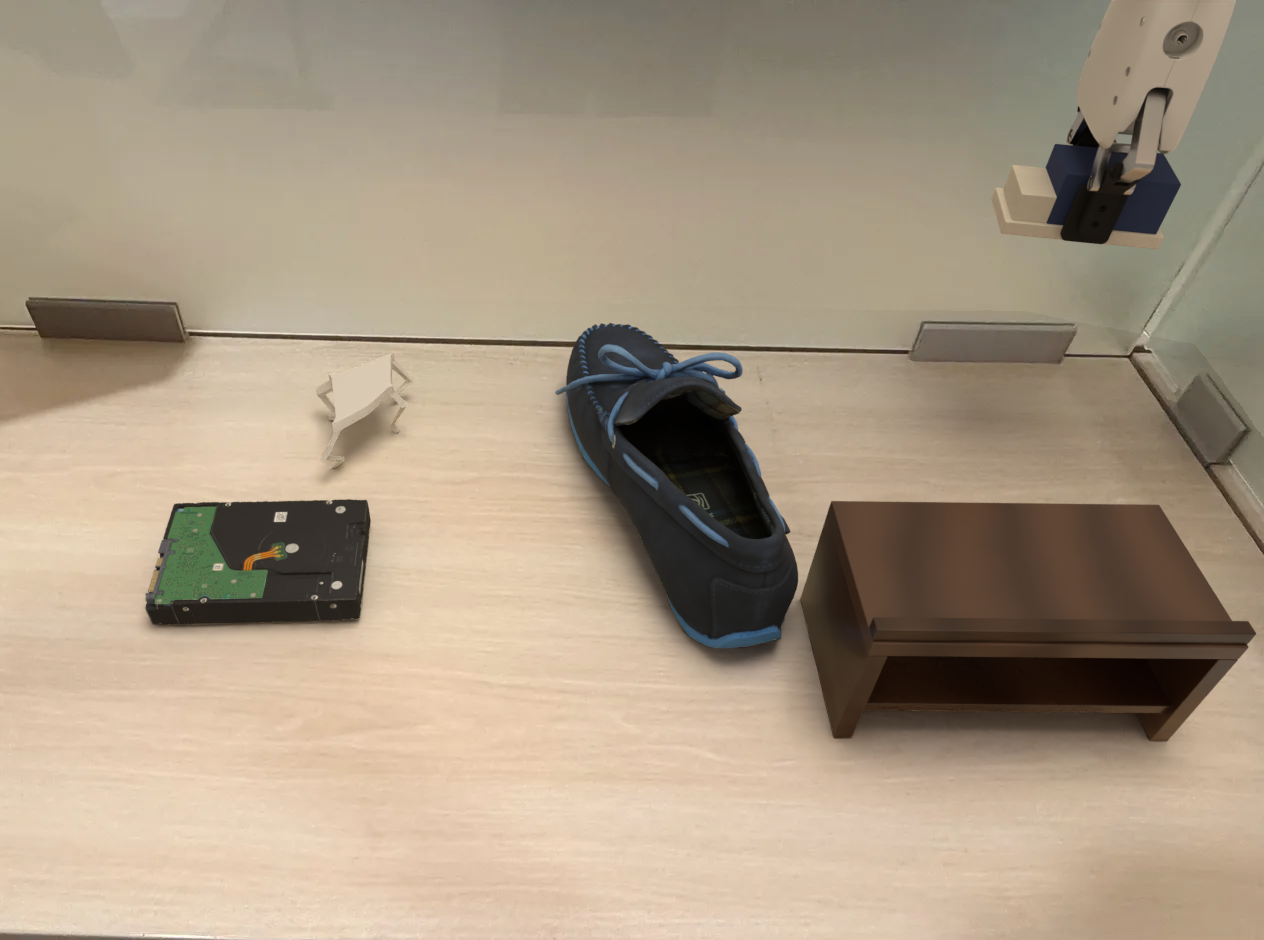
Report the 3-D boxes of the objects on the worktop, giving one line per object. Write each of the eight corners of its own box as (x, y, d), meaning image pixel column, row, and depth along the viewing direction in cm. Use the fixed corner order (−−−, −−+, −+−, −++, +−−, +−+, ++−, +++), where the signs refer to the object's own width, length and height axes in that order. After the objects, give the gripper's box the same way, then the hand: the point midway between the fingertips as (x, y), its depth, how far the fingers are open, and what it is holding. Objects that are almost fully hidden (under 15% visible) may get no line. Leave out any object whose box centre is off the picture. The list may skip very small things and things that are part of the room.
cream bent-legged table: (327, 390, 88) (319, 344, 85) (419, 396, 88) (415, 350, 84) (293, 479, 80) (283, 433, 77) (394, 486, 80) (388, 440, 76)
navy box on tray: (1140, 213, 75) (1170, 152, 71) (1158, 249, 71) (1190, 186, 67) (991, 199, 76) (1013, 138, 72) (1000, 234, 72) (1024, 171, 69)
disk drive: (371, 522, 77) (180, 526, 76) (368, 496, 75) (171, 500, 74) (362, 624, 70) (150, 630, 69) (358, 599, 68) (140, 604, 67)
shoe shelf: (1096, 601, 72) (1166, 493, 64) (1168, 741, 64) (1259, 636, 56) (800, 598, 72) (834, 489, 64) (833, 738, 64) (877, 633, 56)
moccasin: (666, 359, 93) (681, 245, 84) (874, 626, 70) (923, 508, 62) (529, 388, 89) (529, 273, 81) (702, 680, 67) (728, 563, 58)
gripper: (1307, -5, 54) (1155, 285, 67) (1216, -88, 66) (1102, 173, 79) (1163, -15, 55) (1040, 274, 68) (1099, -95, 66) (1005, 164, 79)
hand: (1074, 217), depth 73 cm, fingers closed on navy box on tray, 5 cm apart
